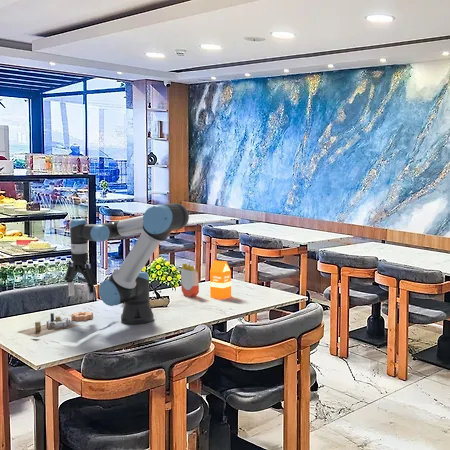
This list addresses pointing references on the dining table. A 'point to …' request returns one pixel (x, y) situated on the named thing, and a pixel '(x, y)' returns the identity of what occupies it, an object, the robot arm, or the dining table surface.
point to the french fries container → (189, 280)
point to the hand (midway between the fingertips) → (80, 297)
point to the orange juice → (220, 280)
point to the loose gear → (82, 316)
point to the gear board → (43, 329)
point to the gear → (59, 324)
